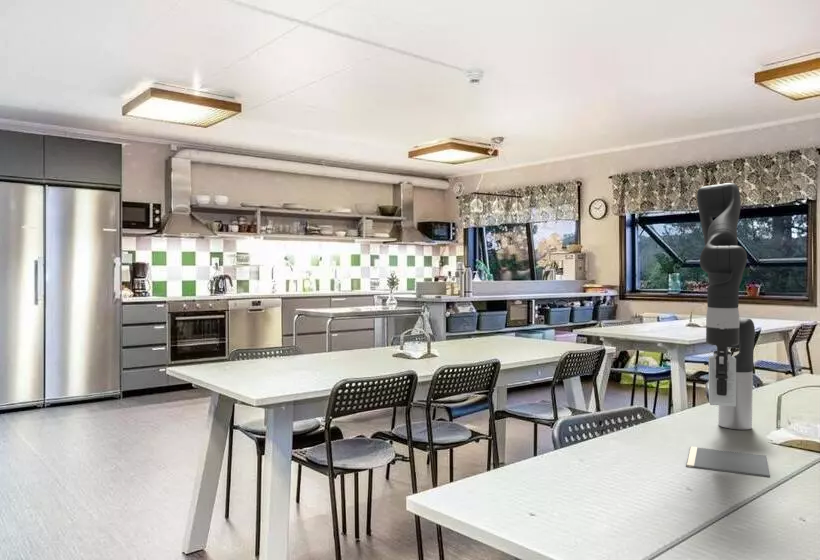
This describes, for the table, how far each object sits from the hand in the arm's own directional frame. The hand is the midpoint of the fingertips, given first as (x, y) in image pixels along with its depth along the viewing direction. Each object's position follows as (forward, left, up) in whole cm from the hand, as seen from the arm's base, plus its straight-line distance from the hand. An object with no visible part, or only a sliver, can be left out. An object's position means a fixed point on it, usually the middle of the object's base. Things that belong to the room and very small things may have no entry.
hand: (722, 393), depth 164 cm
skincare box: (0, 0, -3) cm, 3 cm away
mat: (0, +1, -17) cm, 17 cm away
